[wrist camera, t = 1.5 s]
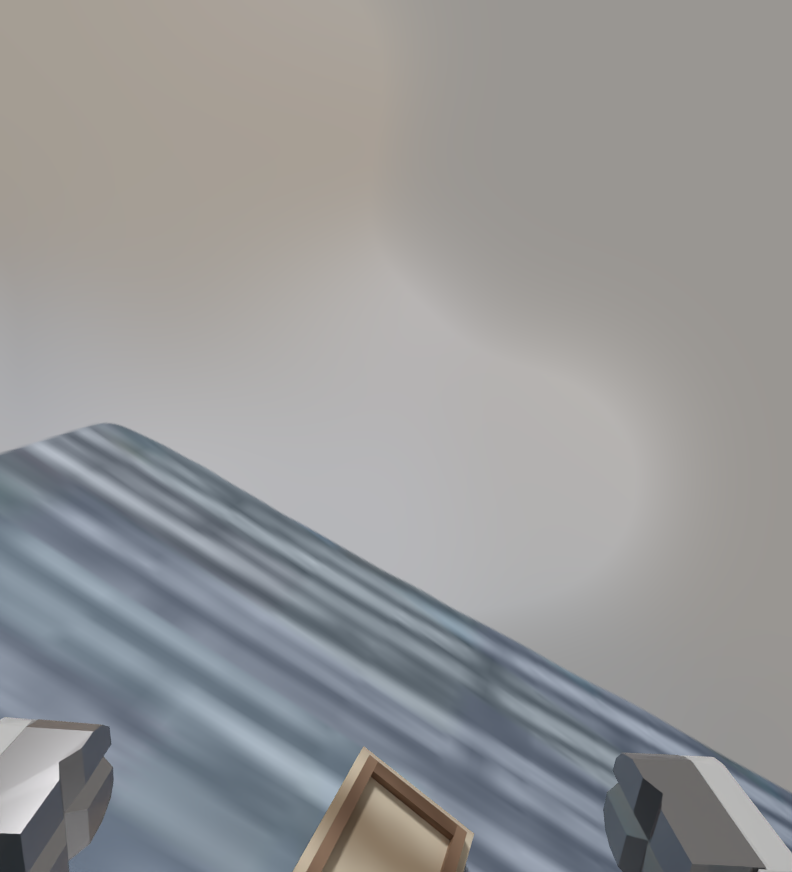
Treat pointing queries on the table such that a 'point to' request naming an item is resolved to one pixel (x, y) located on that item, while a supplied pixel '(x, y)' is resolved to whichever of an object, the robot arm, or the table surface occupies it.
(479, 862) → the table surface
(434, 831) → the base
